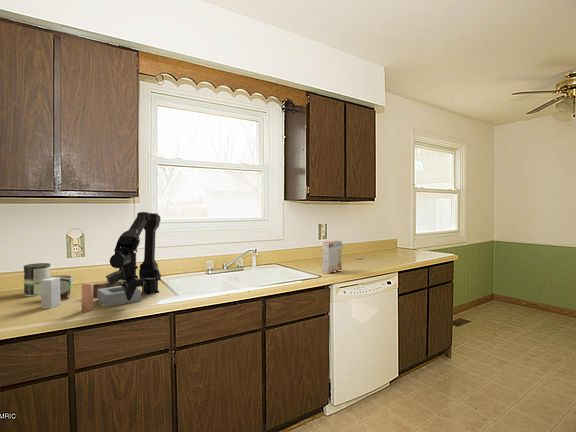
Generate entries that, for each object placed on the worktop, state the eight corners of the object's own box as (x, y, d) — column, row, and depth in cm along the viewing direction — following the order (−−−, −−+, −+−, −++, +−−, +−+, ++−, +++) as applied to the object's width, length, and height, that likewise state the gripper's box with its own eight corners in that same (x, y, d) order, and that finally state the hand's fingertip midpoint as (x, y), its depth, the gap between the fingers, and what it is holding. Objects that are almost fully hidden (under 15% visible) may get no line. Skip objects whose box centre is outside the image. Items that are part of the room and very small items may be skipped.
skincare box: (50, 304, 140) (50, 277, 139) (60, 304, 140) (60, 277, 140) (40, 308, 134) (40, 280, 133) (51, 308, 134) (50, 280, 134)
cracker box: (335, 270, 226) (335, 240, 226) (342, 271, 222) (342, 241, 221) (321, 272, 217) (322, 241, 216) (328, 274, 212) (329, 242, 212)
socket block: (129, 294, 157) (129, 284, 157) (140, 300, 147) (140, 289, 147) (97, 300, 147) (97, 289, 147) (106, 307, 137) (106, 295, 137)
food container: (79, 295, 154) (78, 275, 153) (70, 299, 147) (70, 277, 147) (52, 295, 153) (52, 274, 153) (43, 299, 147) (43, 277, 147)
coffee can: (20, 297, 150) (19, 267, 150) (28, 291, 160) (28, 263, 159) (46, 295, 154) (46, 266, 154) (53, 290, 163) (53, 262, 163)
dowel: (91, 308, 135) (91, 282, 135) (94, 310, 133) (94, 283, 132) (80, 310, 133) (80, 283, 132) (83, 312, 130) (83, 285, 129)
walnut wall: (128, 290, 164) (128, 279, 163) (130, 291, 162) (130, 279, 162) (88, 297, 151) (88, 284, 151) (89, 298, 149) (89, 285, 149)
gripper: (101, 263, 139) (101, 299, 139) (115, 269, 125) (115, 309, 126) (128, 260, 147) (128, 294, 147) (144, 266, 133) (144, 303, 134)
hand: (128, 300), depth 138 cm, fingers closed
